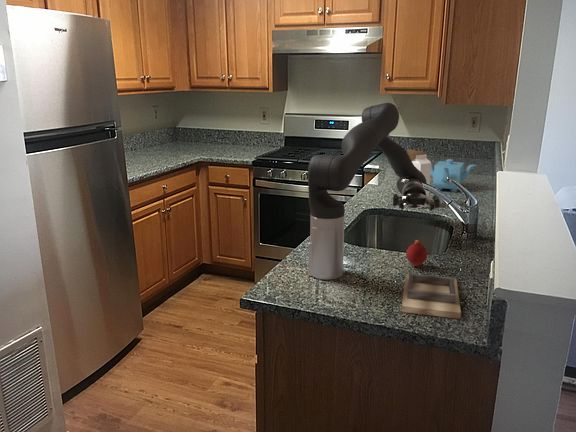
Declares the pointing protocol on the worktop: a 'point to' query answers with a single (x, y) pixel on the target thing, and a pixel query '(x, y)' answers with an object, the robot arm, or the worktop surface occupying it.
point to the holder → (431, 296)
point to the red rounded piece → (416, 253)
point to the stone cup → (414, 154)
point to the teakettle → (449, 174)
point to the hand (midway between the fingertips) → (417, 206)
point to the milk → (423, 168)
